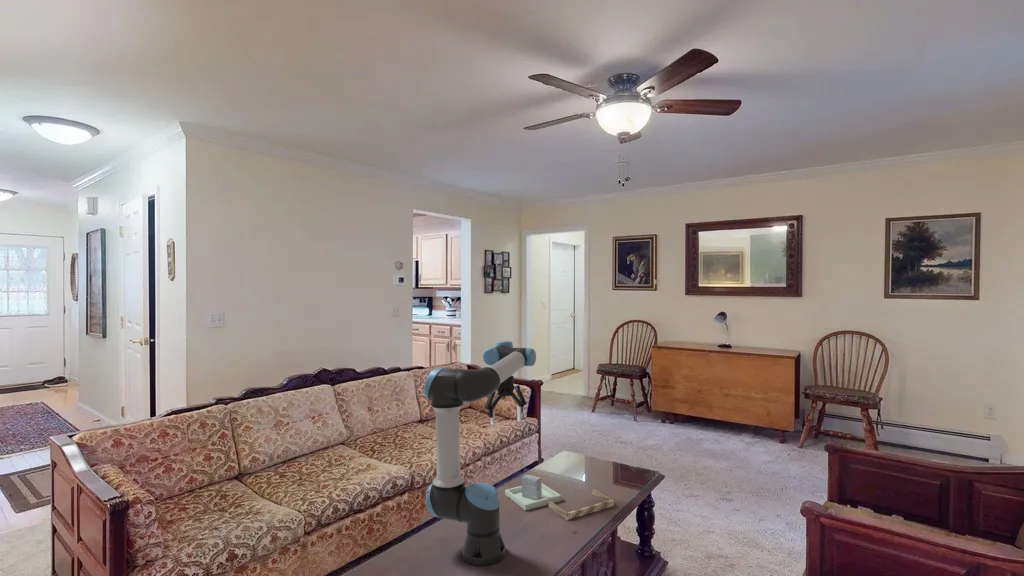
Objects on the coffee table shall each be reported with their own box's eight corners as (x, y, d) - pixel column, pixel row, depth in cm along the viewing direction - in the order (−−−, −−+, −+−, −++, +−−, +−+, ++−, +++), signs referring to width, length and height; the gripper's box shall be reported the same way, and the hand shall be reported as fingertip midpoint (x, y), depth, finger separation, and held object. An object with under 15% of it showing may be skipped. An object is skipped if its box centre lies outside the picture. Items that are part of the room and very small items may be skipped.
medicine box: (542, 497, 219) (541, 477, 219) (536, 500, 215) (536, 481, 215) (527, 493, 223) (526, 474, 223) (521, 496, 220) (521, 477, 219)
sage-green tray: (525, 510, 207) (525, 505, 207) (505, 495, 223) (505, 489, 223) (561, 500, 216) (560, 495, 216) (539, 486, 231) (539, 481, 231)
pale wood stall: (567, 520, 198) (566, 514, 198) (548, 507, 210) (548, 501, 210) (614, 506, 209) (613, 500, 209) (594, 494, 221) (593, 489, 221)
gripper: (524, 372, 234) (526, 418, 233) (476, 376, 222) (477, 425, 221) (533, 374, 227) (534, 421, 226) (484, 378, 215) (485, 428, 214)
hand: (506, 423), depth 223 cm, fingers open, 13 cm apart
